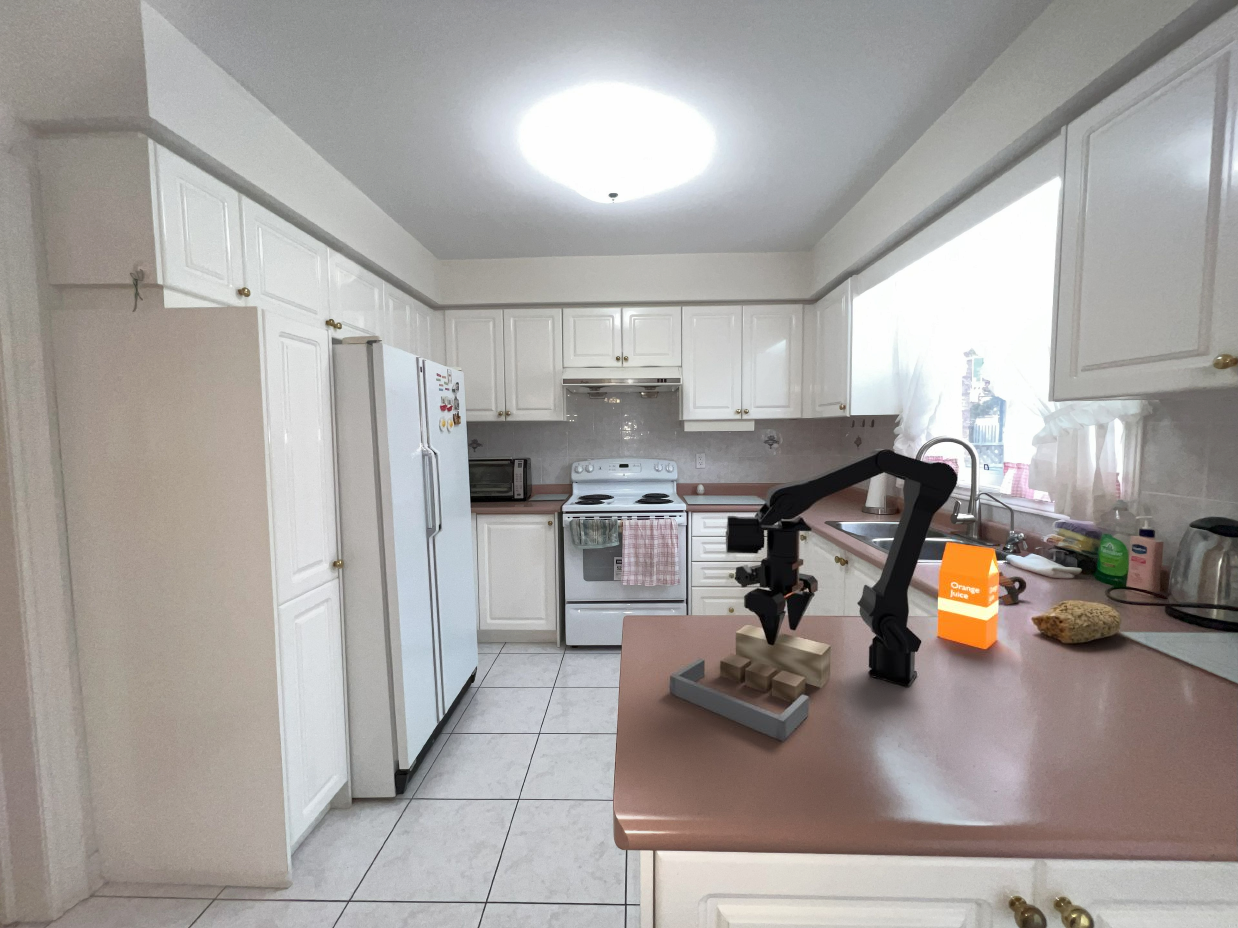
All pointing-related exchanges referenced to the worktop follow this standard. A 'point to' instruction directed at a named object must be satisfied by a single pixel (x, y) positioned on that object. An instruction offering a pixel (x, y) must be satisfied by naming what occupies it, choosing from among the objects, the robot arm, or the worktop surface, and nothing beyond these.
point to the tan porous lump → (1078, 621)
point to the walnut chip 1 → (734, 667)
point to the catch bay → (736, 704)
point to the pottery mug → (1011, 588)
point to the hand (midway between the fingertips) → (782, 636)
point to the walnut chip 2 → (788, 686)
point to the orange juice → (968, 595)
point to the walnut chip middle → (760, 676)
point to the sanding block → (786, 654)
